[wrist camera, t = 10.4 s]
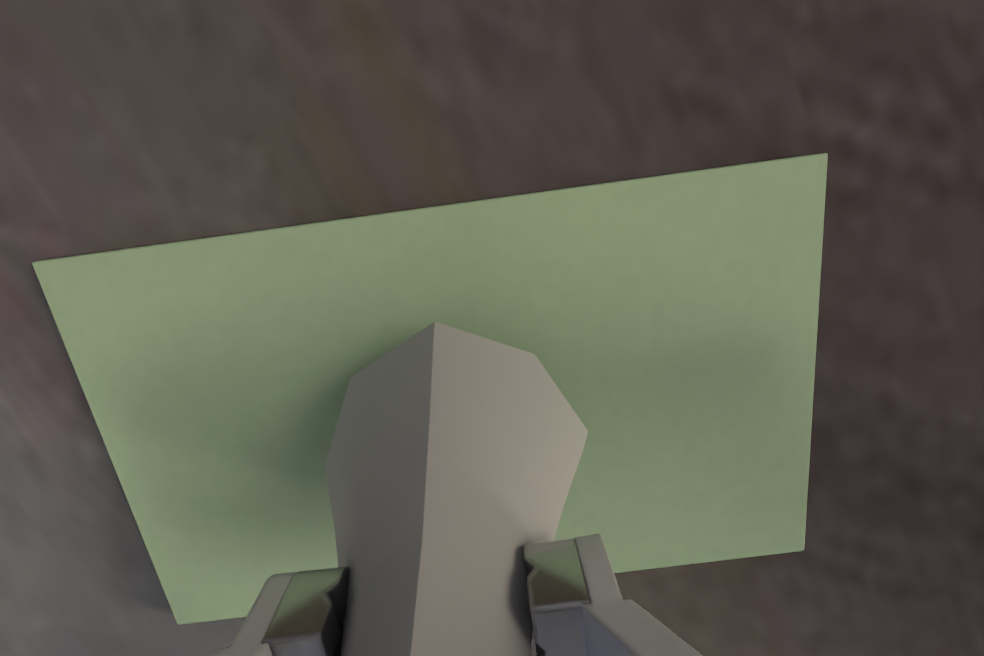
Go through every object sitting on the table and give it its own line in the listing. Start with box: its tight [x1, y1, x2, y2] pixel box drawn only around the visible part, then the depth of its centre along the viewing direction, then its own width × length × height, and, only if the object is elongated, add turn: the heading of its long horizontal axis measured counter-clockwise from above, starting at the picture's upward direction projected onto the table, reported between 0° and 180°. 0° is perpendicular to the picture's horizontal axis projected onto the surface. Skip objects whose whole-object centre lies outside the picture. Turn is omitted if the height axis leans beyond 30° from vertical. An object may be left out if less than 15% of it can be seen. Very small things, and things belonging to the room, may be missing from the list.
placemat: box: [32, 153, 828, 624], centre depth 16 cm, size 22×13×1 cm, turn 98°
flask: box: [326, 322, 588, 656], centre depth 10 cm, size 7×7×10 cm
